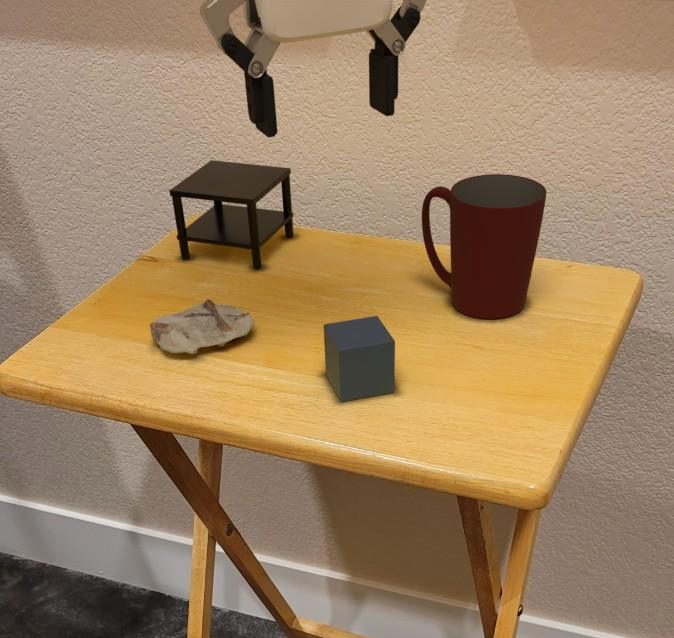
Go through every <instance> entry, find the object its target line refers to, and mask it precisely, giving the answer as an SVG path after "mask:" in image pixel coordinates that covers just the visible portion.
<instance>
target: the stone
mask: <svg viewBox="0 0 674 638" xmlns="http://www.w3.org/2000/svg"><path fill="white" fill-rule="evenodd" d="M254 325H255V318H254V317H253V316H251V312H249V311H248V312H243V310H242V309H241V308H240V307H237V306H235V305H229V304H216V303H214V301H213V300H211V299H209V298H206V299H205V301H204V302H202V303H199V304H196V305H193V306H191V307H188V308H187V309H184V310H182V311H180V312H177V313H172V314H164V315H161V316H159V317H157V318H156V319H154V321H152V322H150V324H149V327H150V330H149V331H150V334H151V337H152V343H153V344H155V345H158V346H159V347H160V349H161V350H162V351H164V352H167V353H171V354H172V353H173V354H180V355H183V354H184V353H187V354H190V355H195V354H197V353H198V352H199V351H198V349H200V348H209V347H211V346H218V347H219V348H222V347H224V346H225V345H226V344H227V342H231V341H232V340H234V339H237V338H241V337H246V336H248V334H249V332H250V331H251V329H252V328H253V326H254Z"/></svg>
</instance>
